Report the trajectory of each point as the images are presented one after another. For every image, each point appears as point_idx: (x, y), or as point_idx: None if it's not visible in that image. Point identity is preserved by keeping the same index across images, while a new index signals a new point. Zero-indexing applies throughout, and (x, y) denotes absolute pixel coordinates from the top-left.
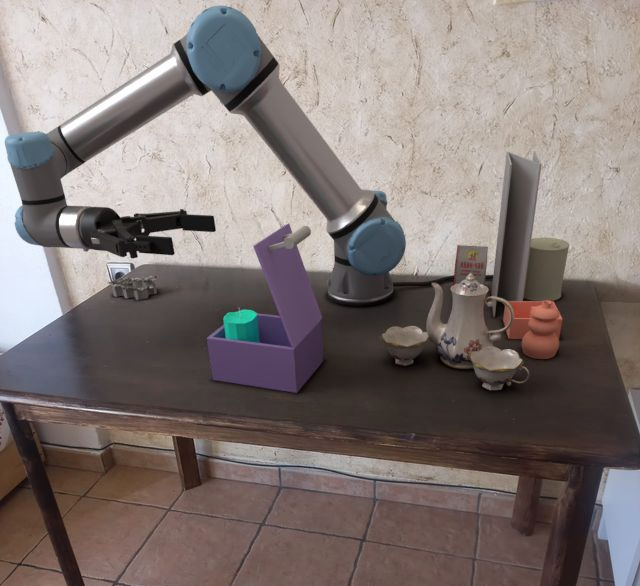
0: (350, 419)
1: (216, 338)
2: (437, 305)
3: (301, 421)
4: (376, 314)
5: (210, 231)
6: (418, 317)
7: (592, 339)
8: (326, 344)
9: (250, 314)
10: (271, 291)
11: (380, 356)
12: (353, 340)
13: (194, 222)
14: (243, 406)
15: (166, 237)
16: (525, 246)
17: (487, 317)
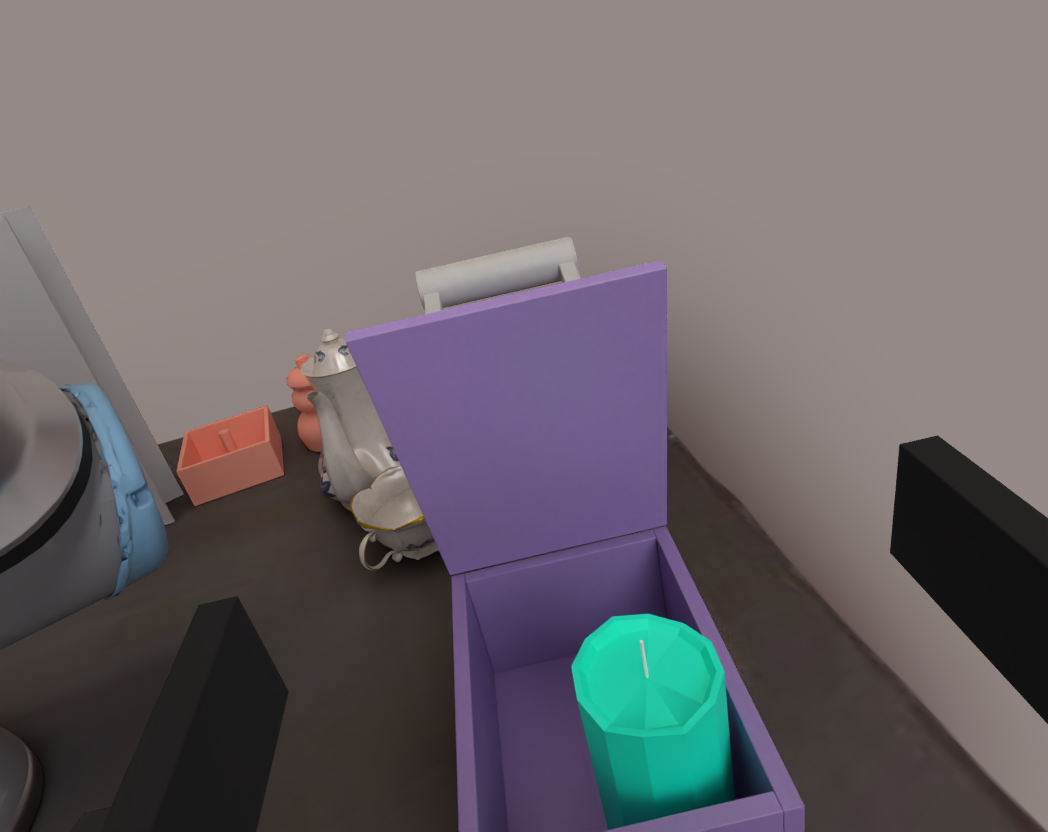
0: (698, 505)
1: (773, 762)
2: (341, 426)
3: (775, 556)
4: (123, 722)
5: (279, 718)
6: (161, 625)
7: (276, 417)
8: (368, 730)
9: (591, 670)
10: (666, 401)
11: (410, 588)
12: (327, 681)
13: (203, 829)
14: (839, 696)
15: (940, 465)
16: (100, 376)
17: (175, 528)
